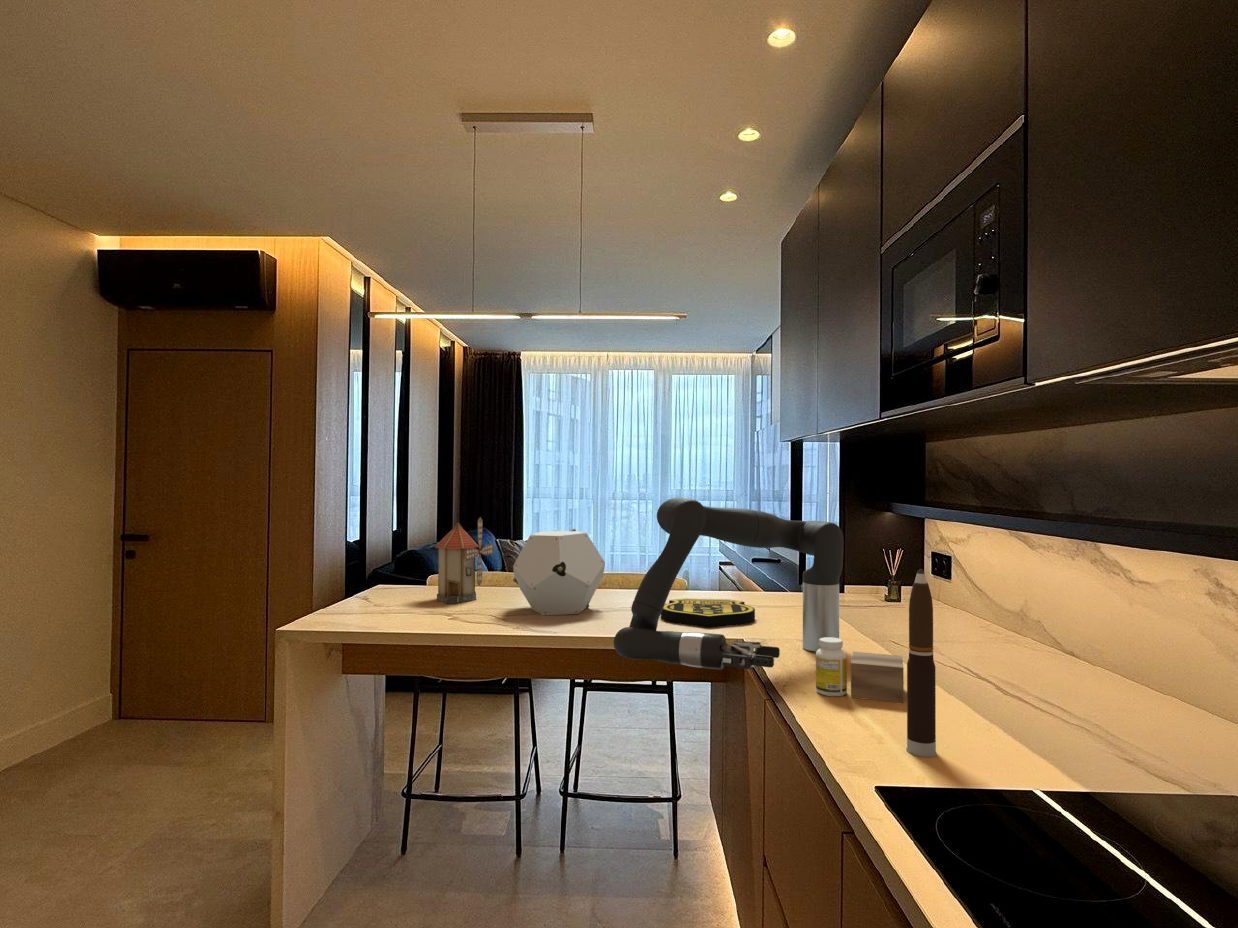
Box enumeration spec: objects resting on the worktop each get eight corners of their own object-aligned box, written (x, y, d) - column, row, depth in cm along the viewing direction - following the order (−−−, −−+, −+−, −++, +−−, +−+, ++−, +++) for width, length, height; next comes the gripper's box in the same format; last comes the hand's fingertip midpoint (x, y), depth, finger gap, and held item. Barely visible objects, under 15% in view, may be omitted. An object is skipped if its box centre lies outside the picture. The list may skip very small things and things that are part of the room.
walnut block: (852, 683, 155) (852, 651, 155) (902, 688, 151) (902, 655, 152) (850, 697, 146) (850, 662, 146) (903, 702, 142) (903, 667, 142)
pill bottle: (833, 686, 153) (833, 635, 153) (853, 694, 147) (853, 641, 147) (809, 690, 150) (809, 637, 151) (829, 698, 145) (829, 644, 145)
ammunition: (929, 746, 119) (929, 567, 120) (941, 757, 115) (940, 570, 115) (902, 746, 119) (901, 566, 120) (912, 756, 115) (911, 570, 115)
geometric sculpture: (604, 627, 244) (634, 556, 232) (532, 644, 224) (561, 567, 212) (557, 574, 263) (583, 506, 251) (487, 585, 243) (511, 512, 231)
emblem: (658, 615, 213) (662, 598, 243) (658, 627, 213) (662, 609, 243) (759, 617, 210) (750, 599, 240) (759, 630, 210) (750, 611, 240)
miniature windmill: (482, 606, 244) (483, 518, 245) (425, 606, 244) (426, 518, 245) (493, 594, 269) (494, 514, 269) (441, 594, 268) (442, 514, 269)
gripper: (694, 639, 152) (772, 646, 146) (710, 626, 165) (781, 632, 159) (694, 675, 152) (771, 683, 146) (709, 659, 165) (781, 666, 159)
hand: (776, 657), depth 153 cm, fingers open, 8 cm apart
